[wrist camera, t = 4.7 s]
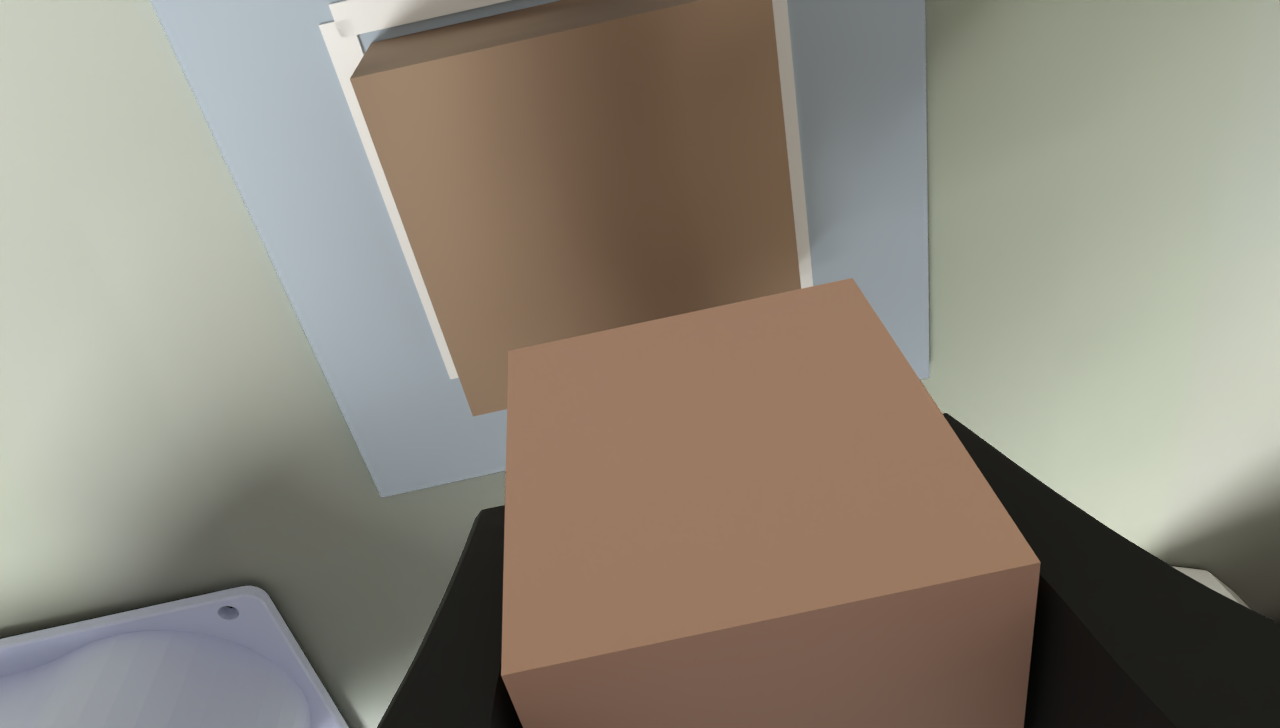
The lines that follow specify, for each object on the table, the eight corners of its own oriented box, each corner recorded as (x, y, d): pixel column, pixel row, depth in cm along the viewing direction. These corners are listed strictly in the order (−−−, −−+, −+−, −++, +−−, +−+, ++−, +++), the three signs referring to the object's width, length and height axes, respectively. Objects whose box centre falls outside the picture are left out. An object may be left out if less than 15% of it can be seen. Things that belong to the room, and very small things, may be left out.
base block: (478, 352, 21) (472, 416, 18) (371, 43, 17) (349, 78, 15) (777, 286, 20) (806, 342, 18) (739, -41, 17) (770, -16, 15)
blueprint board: (383, 487, 23) (380, 499, 22) (100, -128, 15) (89, -125, 15) (923, 369, 23) (930, 379, 22) (913, -312, 15) (923, -314, 15)
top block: (582, 587, 14) (608, 930, 10) (508, 350, 12) (501, 675, 7) (865, 528, 14) (1010, 846, 10) (851, 277, 11) (1039, 562, 7)
